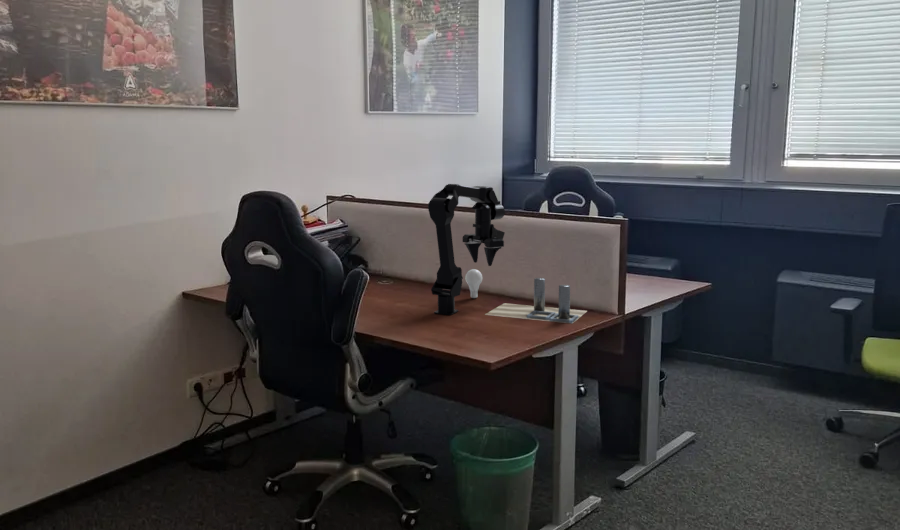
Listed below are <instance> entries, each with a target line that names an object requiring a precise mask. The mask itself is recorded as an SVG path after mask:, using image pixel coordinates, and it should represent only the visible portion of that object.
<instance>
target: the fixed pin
mask: <svg viewBox="0 0 900 530" xmlns="http://www.w3.org/2000/svg"><path fill="white" fill-rule="evenodd" d="M558 308H559V311H558V319H569V320H570V309H571V285H569V284H559V285H558Z"/></svg>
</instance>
